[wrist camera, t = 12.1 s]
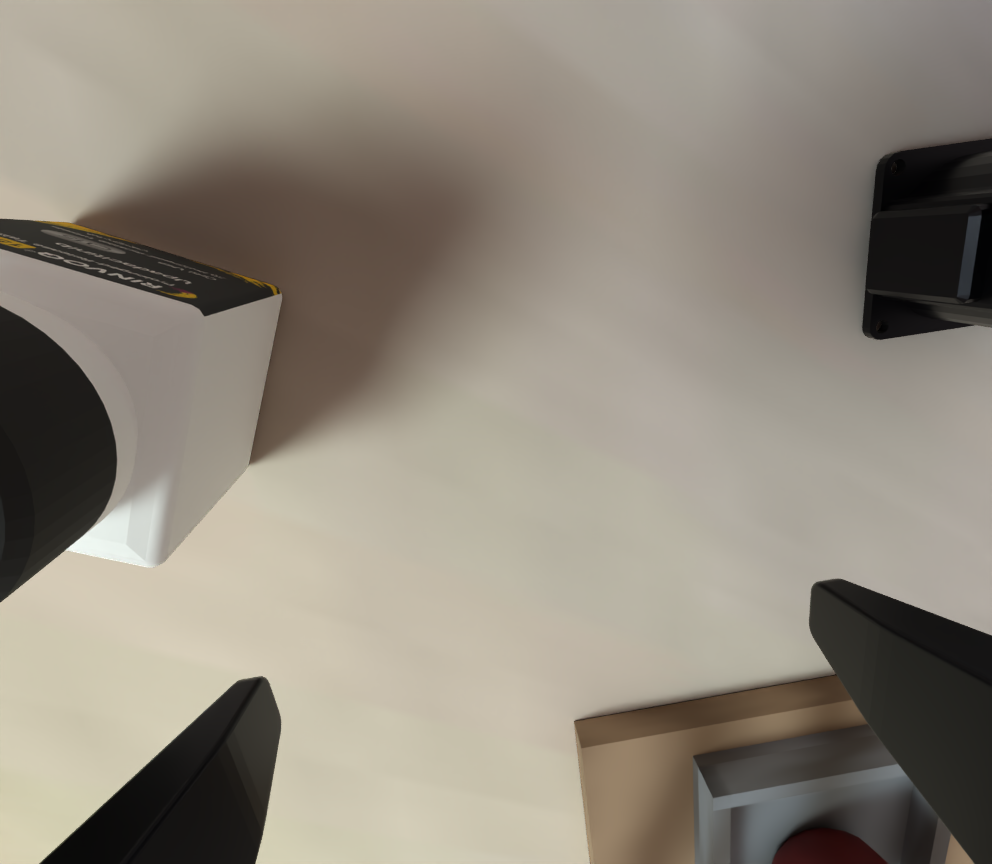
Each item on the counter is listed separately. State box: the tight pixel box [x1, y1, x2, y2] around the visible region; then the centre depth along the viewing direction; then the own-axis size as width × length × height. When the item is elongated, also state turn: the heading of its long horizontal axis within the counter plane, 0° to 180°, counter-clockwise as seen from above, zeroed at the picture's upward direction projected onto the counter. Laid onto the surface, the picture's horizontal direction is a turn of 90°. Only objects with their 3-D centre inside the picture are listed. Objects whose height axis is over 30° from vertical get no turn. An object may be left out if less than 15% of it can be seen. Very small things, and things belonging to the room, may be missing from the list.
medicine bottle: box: [0, 219, 282, 602], centre depth 14 cm, size 7×7×12 cm
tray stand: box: [574, 675, 974, 864], centre depth 28 cm, size 22×18×4 cm
